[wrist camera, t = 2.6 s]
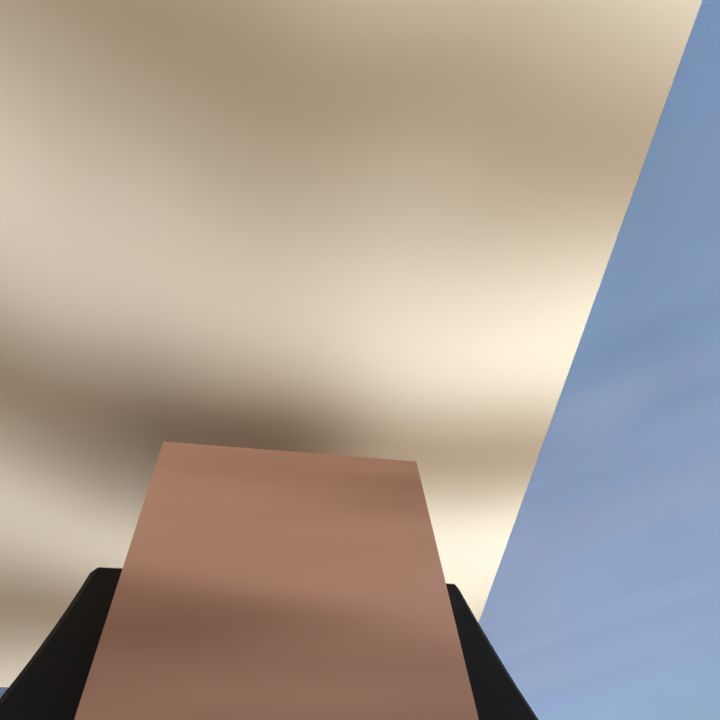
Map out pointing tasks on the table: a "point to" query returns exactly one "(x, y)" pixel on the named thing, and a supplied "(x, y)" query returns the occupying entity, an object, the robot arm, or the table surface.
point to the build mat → (300, 250)
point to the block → (280, 595)
